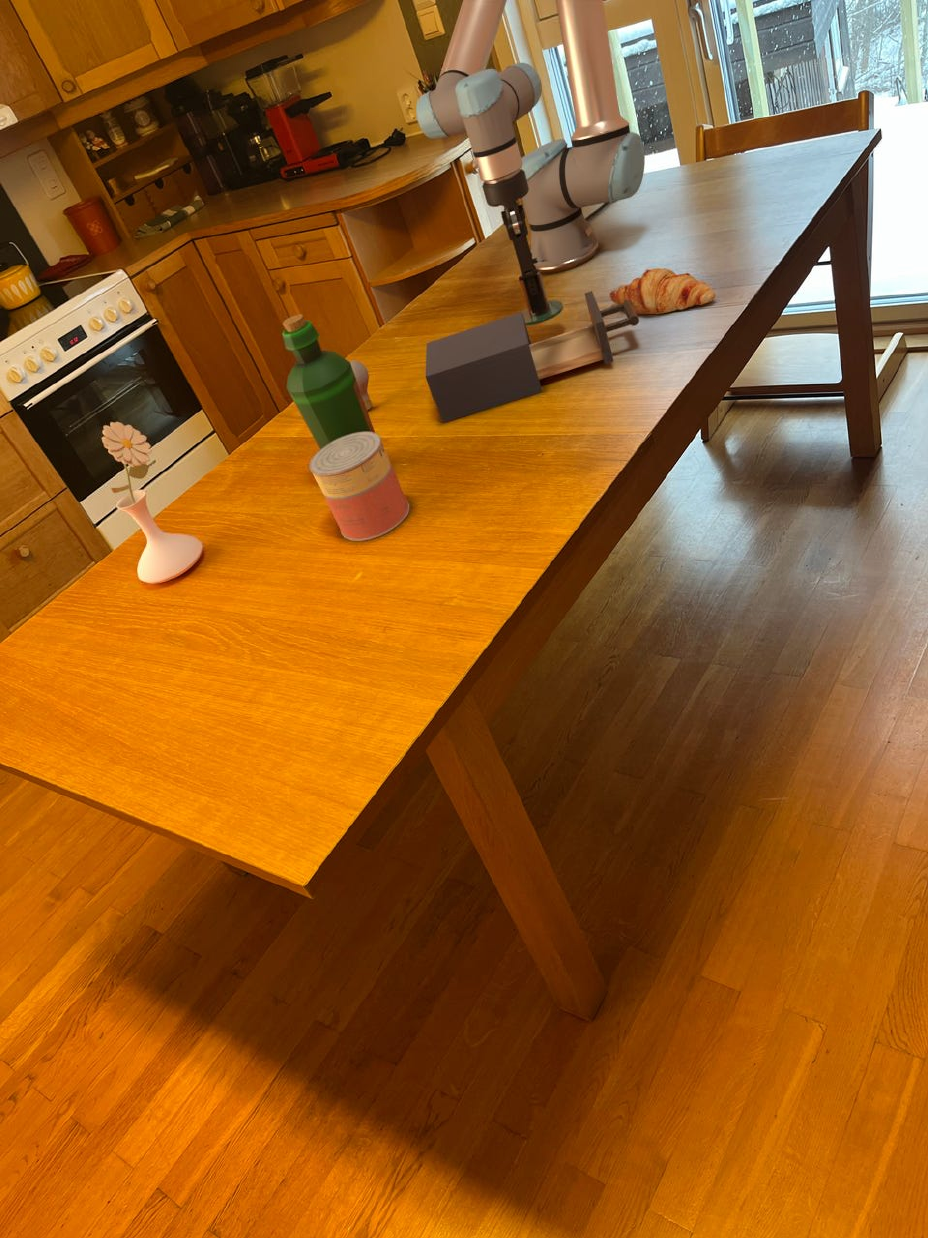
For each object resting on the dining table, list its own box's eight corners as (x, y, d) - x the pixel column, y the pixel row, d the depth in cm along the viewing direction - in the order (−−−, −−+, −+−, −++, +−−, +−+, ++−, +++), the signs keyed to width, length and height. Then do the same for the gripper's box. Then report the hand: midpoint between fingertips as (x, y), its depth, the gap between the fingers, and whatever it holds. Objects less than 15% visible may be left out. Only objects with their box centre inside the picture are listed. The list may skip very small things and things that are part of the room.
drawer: (632, 318, 161) (624, 279, 157) (647, 350, 149) (639, 309, 145) (504, 360, 165) (493, 323, 161) (509, 394, 154) (496, 355, 149)
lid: (516, 313, 172) (505, 274, 167) (560, 298, 170) (550, 259, 166) (519, 329, 165) (507, 290, 161) (565, 314, 163) (555, 274, 159)
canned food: (423, 503, 137) (395, 435, 130) (373, 546, 132) (341, 478, 125) (376, 492, 145) (347, 428, 138) (327, 533, 140) (294, 468, 133)
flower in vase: (174, 593, 141) (84, 458, 126) (130, 586, 148) (40, 457, 133) (227, 542, 149) (148, 409, 134) (183, 538, 155) (103, 410, 140)
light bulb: (386, 401, 172) (366, 353, 166) (373, 416, 168) (353, 367, 163) (363, 403, 175) (343, 356, 169) (350, 418, 171) (329, 371, 165)
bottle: (402, 454, 152) (336, 297, 136) (379, 491, 145) (307, 329, 128) (349, 462, 157) (279, 310, 140) (324, 497, 150) (247, 341, 133)
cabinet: (535, 357, 165) (521, 311, 160) (542, 391, 153) (528, 343, 148) (442, 387, 168) (426, 342, 163) (442, 423, 157) (425, 376, 151)
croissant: (725, 314, 161) (729, 266, 159) (700, 312, 154) (704, 262, 151) (622, 315, 174) (624, 271, 172) (594, 314, 167) (596, 268, 164)
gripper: (479, 171, 160) (516, 297, 174) (482, 194, 147) (522, 328, 161) (520, 156, 159) (553, 284, 173) (527, 179, 146) (562, 315, 159)
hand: (538, 305), depth 167 cm, fingers closed on lid, 4 cm apart
